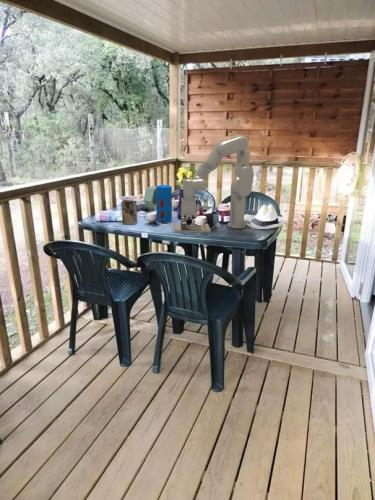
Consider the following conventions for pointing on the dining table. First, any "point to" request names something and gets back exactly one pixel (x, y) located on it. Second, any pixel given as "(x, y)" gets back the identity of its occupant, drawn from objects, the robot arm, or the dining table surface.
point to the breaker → (184, 225)
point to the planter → (150, 198)
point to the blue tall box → (164, 203)
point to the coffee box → (129, 212)
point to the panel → (190, 228)
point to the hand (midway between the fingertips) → (188, 225)
